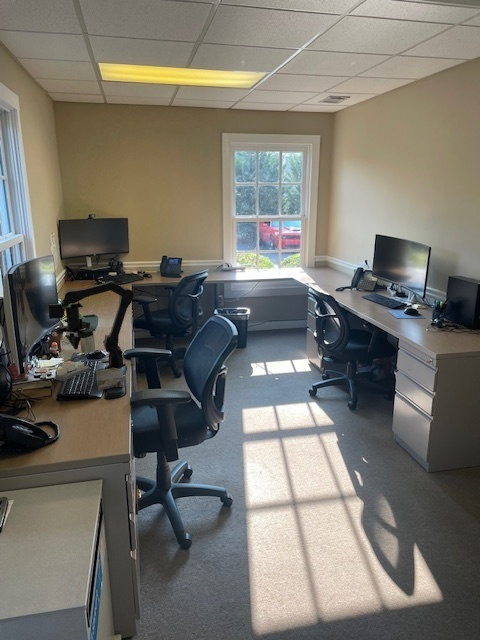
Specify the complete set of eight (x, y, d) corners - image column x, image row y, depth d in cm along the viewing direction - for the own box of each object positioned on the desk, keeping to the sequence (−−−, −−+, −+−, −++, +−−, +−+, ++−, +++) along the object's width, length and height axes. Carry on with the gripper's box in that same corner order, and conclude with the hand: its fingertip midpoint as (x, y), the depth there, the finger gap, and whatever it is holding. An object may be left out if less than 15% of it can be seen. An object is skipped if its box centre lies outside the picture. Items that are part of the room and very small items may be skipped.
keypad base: (90, 370, 220) (90, 366, 220) (63, 381, 207) (62, 377, 206) (76, 367, 225) (75, 363, 225) (48, 378, 211) (47, 373, 211)
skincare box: (91, 351, 251) (89, 330, 248) (96, 353, 248) (94, 331, 245) (80, 354, 246) (78, 332, 243) (85, 356, 243) (83, 333, 240)
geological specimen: (96, 381, 193) (94, 368, 207) (98, 394, 195) (96, 381, 208) (123, 377, 197) (119, 364, 210) (124, 390, 198) (120, 377, 212)
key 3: (67, 375, 212) (66, 368, 211) (60, 378, 209) (59, 370, 208) (61, 374, 214) (60, 367, 213) (54, 377, 211) (53, 369, 210)
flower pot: (99, 329, 298) (98, 316, 296) (85, 331, 293) (84, 318, 291) (95, 327, 305) (94, 313, 303) (82, 329, 300) (80, 315, 298)
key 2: (75, 369, 216) (75, 361, 215) (69, 371, 213) (68, 364, 212) (69, 367, 218) (69, 360, 217) (63, 370, 215) (62, 362, 214)
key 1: (84, 369, 221) (83, 362, 220) (77, 371, 217) (77, 364, 216) (78, 368, 223) (77, 360, 222) (72, 370, 219) (71, 363, 218)
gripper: (100, 315, 216) (103, 347, 220) (72, 312, 225) (75, 342, 229) (82, 320, 207) (85, 353, 211) (53, 316, 216) (57, 348, 220)
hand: (76, 349), depth 218 cm, fingers closed
